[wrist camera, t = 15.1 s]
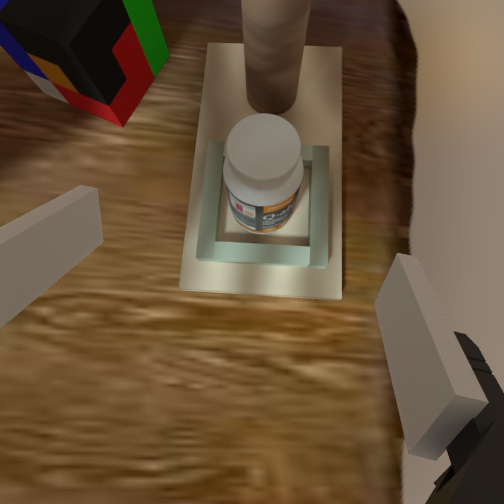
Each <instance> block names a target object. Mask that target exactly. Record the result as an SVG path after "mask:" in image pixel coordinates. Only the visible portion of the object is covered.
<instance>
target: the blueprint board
mask: <svg viewBox="0 0 504 504" xmlns="http://www.w3.org/2000/svg"><path fill="white" fill-rule="evenodd" d="M241 6H242V23H243V41H244V44H239V43H209V42H208V47H207V56H206V64H205V72H204V81H203V89H202V98H201V106H200V114H199V123H198V131H197V139H196V148H195V156H194V164H193V173H192V181H191V189H190V198H189V206H188V215H187V223H186V231H185V240H184V248H183V256H182V265H181V273H180V281H179V289H181V290H185V291H200V292H216V293H231V294H247V295H263V296H278V297H294V298H310V299H325V300H340V299H342V47H329V46H304V45H305V38H306V32H307V25H308V19H309V12H310V6H311V0H241ZM260 113H266V114H273V115H277V116H279V117H281V118H283V119H285V120H287V121H288V122H289V123H290V124H291V125H292V126H293V127H294V128H295V130H296V131H297V133H298V135H299V138H300V143H301V152H300V155H301V158H302V161H303V166H304V172H303V180H302V183H301V186H300V190H299V193H298V196H297V200H296V204H295V207H294V210H293V213H292V215H291V218H290V219H289V221H288V222H287V223H286V224H285V225H284V226H283V227H282V228H281V229H279V230H277V231H275V232H272V233H268V234H256V233H252V232H249V231H247V230H245V229H244V228H242V227H241V226H240V225H239V224H238V223H237V222H236V220H235V218H234V217H233V214H232V211H231V208H230V204H229V200H228V195H227V191H226V186H225V182H224V178H223V164H224V160H225V157H226V155H227V152H226V143H227V139H228V136H229V133H230V132H231V130H232V128H233V127H234V126H235V125H236V124H237V123H238V122H239V121H241V120H242V119H244V118H246V117H248V116H251V115H254V114H260Z"/></svg>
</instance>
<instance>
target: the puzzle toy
mask: <svg viewBox="0 0 504 504" xmlns="http://www.w3.org/2000/svg"><path fill="white" fill-rule="evenodd" d="M0 45H1V46H2V47H3V49H4V50H5V51H6V52H7V53H8V54H9V55H10V56H11V57H12V58H13V60H14V61H15V62H16V63H17V64H18V65H19V66H20V67H21V68H22V69H23V71H24V72H25V73H26V74H27V75H28V76H29V77H30V78H31V79H32V80H33V81H34V83H35V84H36V85H37V86H38V87H39V88H40V89H41V90H42V91H43V92H44V93H45V94H47V95H49V96H52V97H54V98H56V99H59V100H61V101H63V102H66V103H68V104H70V105H72V106H75V107H77V108H79V109H82V110H84V111H86V112H89V113H91V114H93V115H96V116H98V117H100V118H103V119H105V120H107V121H110V122H112V123H114V124H116V125H119V126H121V127H124V125H125V124H126V122H127V121H128V119H129V118H130V116H131V114H132V113H133V111H134V110H135V108H136V107H137V105H138V104H139V102H140V100H141V99H142V97H143V96H144V94H145V93H146V91H147V90H148V88H149V86H150V85H151V83H152V82H153V80H154V79H155V77H156V75H157V74H158V72H159V71H160V69H161V68H162V66H163V65H164V63H165V61H166V60H167V58H168V57H169V55H170V54H169V51H168V48H167V45H166V42H165V39H164V36H163V33H162V30H161V27H160V24H159V21H158V18H157V15H156V12H155V9H154V6H153V3H152V0H0Z"/></svg>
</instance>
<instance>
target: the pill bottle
mask: <svg viewBox="0 0 504 504" xmlns="http://www.w3.org/2000/svg"><path fill="white" fill-rule="evenodd" d="M226 152H227V155H226V157H225V160H224V164H223V178H224V182H225V186H226V191H227V195H228V200H229V204H230V208H231V211H232V214H233V217H234V218H235V220H236V222H237V223H238V224H239V225H240V226H241V227H242V228H244V229H245V230H247V231H249V232H252V233H256V234H268V233H272V232H275V231H277V230H279V229H281V228H282V227H283V226H284V225H285V224H286V223H287V222H288V221H289V219H290V218H291V215H292V213H293V210H294V207H295V204H296V200H297V196H298V193H299V190H300V186H301V183H302V180H303V172H304V166H303V161H302V158H301V155H300V152H301V143H300V138H299V135H298V133H297V131H296V130H295V128H294V127H293V126H292V125H291V124H290V123H289V122H288V121H287V120H285V119H283V118H281V117H279V116H277V115H273V114H266V113H260V114H254V115H251V116H248V117H246V118H244V119H242V120H241V121H239V122H238V123H237V124H236V125H235V126H234V127H233V128H232V130H231V132H230V133H229V136H228V139H227V143H226Z"/></svg>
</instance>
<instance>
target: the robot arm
mask: <svg viewBox="0 0 504 504" xmlns="http://www.w3.org/2000/svg"><path fill="white" fill-rule="evenodd" d="M101 243H103V233H102V224H101V215H100V206H99V197H98V188H94V187H89V186H84V185H80V186H78V187H76V188H74V189H72V190H70V191H68V192H67V193H65V194H63V195H61V196H59V197H57V198H55V199H53V200H51V201H49V202H47V203H45V204H44V205H42V206H40V207H38V208H36V209H34V210H32V211H30V212H28V213H26V214H24V215H23V216H21V217H19V218H17V219H15V220H13V221H11V222H9V223H7V224H5V225H3V226H2V227H0V329H1V328H2V327H3V326H4V325H5V324H7V323H8V322H9V321H10V320H11V319H12V318H14V317H15V316H16V315H17V314H18V313H20V312H21V311H22V310H23V309H24V308H25V307H27V306H28V305H29V304H30V303H31V302H33V301H34V300H35V299H36V298H37V297H39V296H40V295H41V294H42V293H43V292H44V291H46V290H47V289H48V288H49V287H50V286H52V285H53V284H54V283H55V282H56V281H58V280H59V279H60V278H61V277H62V276H63V275H65V274H66V273H67V272H68V271H69V270H71V269H72V268H73V267H74V266H75V265H76V264H78V263H79V262H80V261H81V260H82V259H84V258H85V257H86V256H87V255H88V254H90V253H91V252H92V251H93V250H94V249H95V248H97V247H98V246H99V245H100V244H101ZM374 305H375V310H376V314H377V318H378V323H379V327H380V331H381V336H382V340H383V344H384V349H385V353H386V357H387V362H388V366H389V370H390V375H391V379H392V383H393V388H394V392H395V397H396V401H397V405H398V410H399V414H400V418H401V423H402V427H403V431H404V436H405V440H406V444H407V448H408V453H409V454H412V455H416V456H420V457H424V458H428V459H432V460H435V461H436V460H437V459H438V458H439V457H440V456H441V455H442V454H443V453H444V451H445V450H446V449H447V452H448V455H449V459H450V461H451V466H449V468H448V469H447V470H446V471H445V472H444V473H443V474H442V475H441V476H440V477H439V478H438V479H437V480H436V481H435V482H434V484H435V485H436V487H435V489H434V490H433V492H432V494H431V495H430V497H429V499H428V500H427V502H426V503H425V504H504V393H503V391H502V389H501V388H500V386H499V384H498V382H497V380H496V378H495V377H494V375H492V371H491V370H490V368H489V366H488V364H487V363H485V362H486V361H485V359H484V357H483V355H482V353H481V351H480V350H479V348H478V347H477V346H476V345H475V344H474V343H473V341H472V340H471V339H470V338H469V337H468V336H467V335H466V334H463V333H458V332H454V331H453V330H452V328H451V326H450V324H449V322H448V320H447V318H446V316H445V314H444V312H443V310H442V308H441V306H440V304H439V302H438V300H437V298H436V296H435V294H434V292H433V290H432V288H431V286H430V284H429V282H428V280H427V278H426V276H425V274H424V272H423V270H422V268H421V266H420V264H419V262H418V260H417V258H416V257H414V256H409V255H405V254H400V253H397V255H396V257H395V259H394V261H393V263H392V266H391V268H390V270H389V272H388V274H387V276H386V279H385V281H384V283H383V285H382V287H381V290H380V292H379V294H378V296H377V298H376V300H375V303H374Z"/></svg>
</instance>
